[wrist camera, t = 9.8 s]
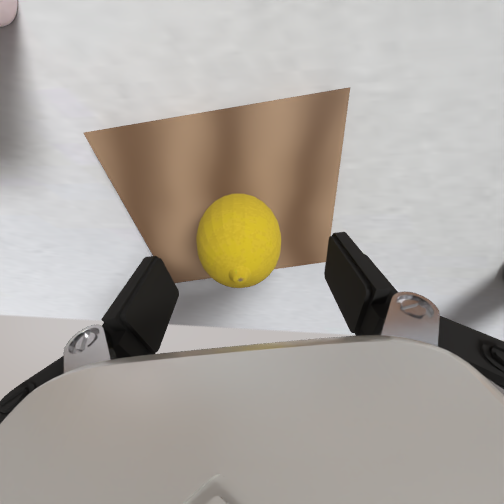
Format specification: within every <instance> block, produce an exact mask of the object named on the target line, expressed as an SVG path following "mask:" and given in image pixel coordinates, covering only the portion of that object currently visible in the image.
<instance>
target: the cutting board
mask: <svg viewBox="0 0 504 504" xmlns="http://www.w3.org/2000/svg"><path fill="white" fill-rule="evenodd" d="M349 92H350V88H344V89H338V90H332V91H327V92H321V93H315V94H309V95H303V96H297V97H291V98H285V99H279V100H274V101H268V102H262V103H256V104H250V105H244V106H238V107H232V108H226V109H221V110H215V111H209V112H203V113H197V114H191V115H185V116H179V117H173V118H168V119H162V120H156V121H150V122H144V123H138V124H132V125H126V126H120V127H115V128H109V129H103V130H97V131H91V132H85V133H84V135H85V137H86V138H87V140H88V142H89V144H90V145H91V147H92V149H93V151H94V153H95V154H96V156H97V158H98V160H99V161H100V163H101V165H102V167H103V168H104V170H105V172H106V174H107V175H108V177H109V179H110V181H111V182H112V184H113V186H114V188H115V189H116V191H117V193H118V195H119V196H120V198H121V200H122V202H123V203H124V205H125V207H126V209H127V210H128V212H129V214H130V216H131V218H132V219H133V221H134V223H135V225H136V226H137V228H138V230H139V232H140V233H141V235H142V237H143V239H144V240H145V242H146V244H147V246H148V247H149V249H150V251H151V253H152V254H153V256H157V257H158V258H161V259H162V261H163V262H164V264H165V266H166V268H167V270H168V272H169V274H170V276H171V277H172V279H173V281H174V283H179V282H186V281H193V280H200V279H207V278H211V277H210V276H209V274H208V273H207V272H206V271H205V269H204V268H203V266H202V264H201V262H200V259H199V256H198V251H197V241H196V237H197V231H198V226H199V222H200V220H201V218H202V216H203V215H204V213H205V211H206V210H207V208H208V207H209V206H210V205H211V204H212V203H214V202H215V201H216V200H218V199H220V198H221V197H223V196H226V195H230V194H247V195H251V196H254V197H256V198H257V199H259V200H261V201H263V202H264V203H265V204H266V205H267V206H268V207H269V208H270V209H271V211H272V212H273V214H274V216H275V217H276V219H277V221H278V224H279V229H280V233H281V250H280V256H279V259H278V261H277V264H276V267H275V268H274V269H278V268H286V267H293V266H300V265H307V264H314V263H321V262H326V257H327V249H328V241H329V237H330V235H331V227H332V220H333V212H334V205H335V197H336V190H337V182H338V175H339V167H340V160H341V152H342V145H343V137H344V130H345V122H346V115H347V107H348V100H349Z"/></svg>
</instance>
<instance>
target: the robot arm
mask: <svg viewBox="0 0 504 504" xmlns="http://www.w3.org/2000/svg"><path fill="white" fill-rule="evenodd" d="M325 279H326V281H327V283H328V286H329V288H330V290H331V292H332V294H333V296H334V298H335V300H336V302H337V304H338V306H339V309H340V311H341V313H342V315H343V317H344V319H345V321H346V323H347V325H348V327H349V329H350V331H351V332H352V333H355V335H356V336H346V337H333V338H319V339H308V340H297V341H287V342H275V343H264V344H253V345H243V346H232V347H222V348H212V349H201V350H191V351H181V352H172V353H161V354H155V352H157V351H158V350H159V348H160V345H161V342H162V339H163V337H164V334H165V331H166V329H167V326H168V323H169V321H170V318H171V315H172V312H173V310H174V307H175V304H176V302H177V299H178V296H179V291H178V289H177V287H176V285H175V283H174V281H173V279H172V277H171V276H170V274H169V272H168V270H167V268H166V266H165V264H164V262H163V261H162V259H161V258H158V257H157V256H151V257H145V258H144V259H143V261H142V262H141V264H140V265H139V266H138V268H137V269H136V271H135V272H134V274H133V275H132V276H131V278H130V279H129V281H128V282H127V284H126V285H125V286H124V288H123V289H122V291H121V292H120V294H119V295H118V296H117V298H116V299H115V301H114V302H113V304H112V305H111V307H110V308H109V309H108V311H107V312H106V314H105V315H104V317H103V318H102V319H101V320H102V321H103V322H104V324H103V325H102V326H101V325H91V326H88V327H86V328H84V329H82V330H81V331H79V332H78V333H77V334H75V335H74V336H73V337H72V338H71V339H70V340H69V342H68V343H67V345H66V346H65V349H64V356H63V357H61V358H60V359H58V360H57V361H55V362H54V363H52V364H51V365H49V366H47V367H46V368H44V369H43V370H41V371H40V372H38V373H37V374H35V375H34V376H32V377H31V378H29V379H28V380H26V381H25V382H23V383H22V384H20V385H19V386H17V387H16V388H14V390H12V391H10V392H9V393H8V394H7V395H6V396H5V397H4V398H3V399H2V400H1V401H0V504H504V342H503V341H501V340H498V339H496V338H493V337H491V336H488V335H486V334H484V333H481V332H479V331H476V330H474V329H471V328H469V327H466V326H464V325H461V324H459V323H456V322H454V321H451V320H449V319H447V318H444V317H442V316H440V314H439V310H438V308H437V307H436V305H435V304H434V303H432V302H431V301H430V300H429V299H427V298H425V297H424V296H421V295H419V294H416V293H412V292H397V290H396V289H395V288H394V287H393V286H392V285H391V283H390V282H389V281H388V280H387V279H386V278H385V276H384V275H383V274H382V273H381V272H380V270H379V269H378V268H377V267H376V266H375V265H374V263H373V262H372V261H371V260H370V259H369V257H368V256H367V255H365V254H363V253H362V251H361V250H360V249H359V248H358V247H357V245H356V244H355V243H354V242H353V241H352V239H351V238H350V237H349V236H348V235H347V233H346V232H339V233H333V235H332V236H330V237H329V241H328V249H327V257H326V265H325Z"/></svg>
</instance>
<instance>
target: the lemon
mask: <svg viewBox="0 0 504 504" xmlns="http://www.w3.org/2000/svg"><path fill="white" fill-rule="evenodd" d="M196 241H197V251H198V256H199V259H200V262H201V264H202V266H203V268H204V269H205V271H206V272H207V273H208V274H209V276H210V277H211V278H213V279H214V280H215V281H217V282H218V283H220V284H223V285H225V286H228V287H232V288H244V287H250V286H253V285H256V284H258V283H259V282H261V281H263V280H264V279H265V278H266V277H268V276H269V275H270V273H271V272H272V271H273V269H274V268H275V267H276V264H277V261H278V259H279V256H280V250H281V233H280V229H279V224H278V221H277V219H276V217H275V216H274V214H273V212H272V211H271V209H270V208H269V207H268V206H267V205H266V204H265V203H264V202H263V201H261V200H259V199H257V198H256V197H254V196H251V195H247V194H230V195H226V196H223V197H221V198H220V199H218V200H216V201H215V202H214V203H212V204H211V205H210V206H209V207H208V208H207V210H206V211H205V213H204V215H203V216H202V218H201V220H200V222H199V226H198V231H197V237H196Z"/></svg>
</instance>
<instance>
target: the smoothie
mask: <svg viewBox="0 0 504 504" xmlns="http://www.w3.org/2000/svg"><path fill="white" fill-rule="evenodd" d="M16 13H17V0H0V27H1V26H6V25H8V24H10V23H11V22H12V21H13V20H14V18H15V16H16Z"/></svg>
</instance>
